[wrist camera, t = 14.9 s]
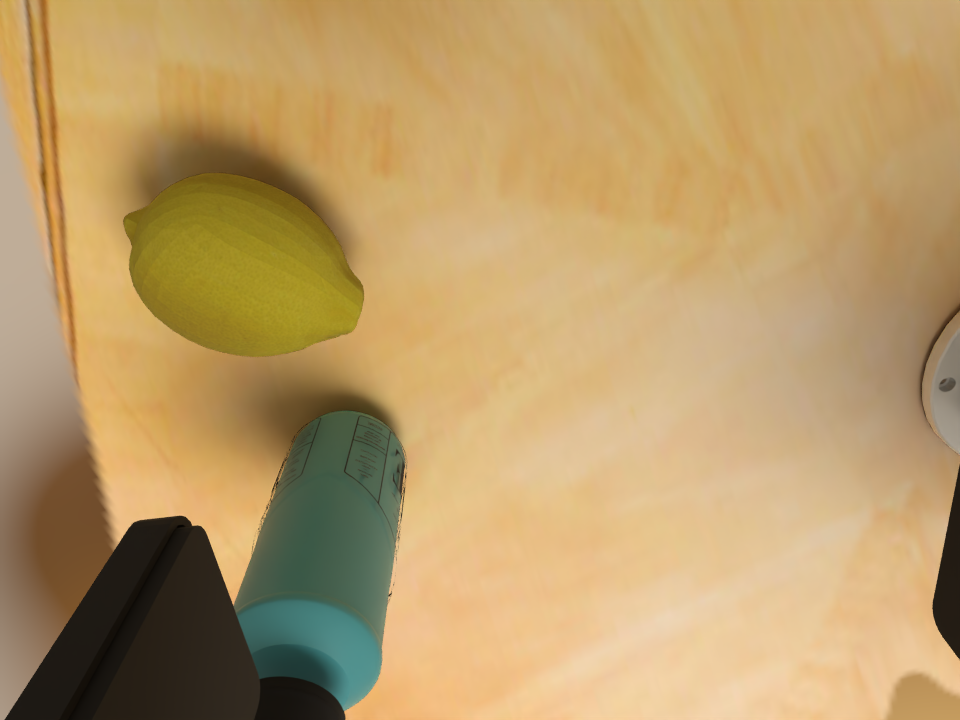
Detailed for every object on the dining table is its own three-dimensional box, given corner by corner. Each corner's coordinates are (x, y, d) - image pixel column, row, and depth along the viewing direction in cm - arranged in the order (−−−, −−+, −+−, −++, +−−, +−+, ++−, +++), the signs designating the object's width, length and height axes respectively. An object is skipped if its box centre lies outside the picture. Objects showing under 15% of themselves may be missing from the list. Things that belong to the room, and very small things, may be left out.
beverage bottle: (276, 412, 41) (124, 736, 23) (386, 377, 40) (319, 683, 22) (325, 501, 43) (224, 853, 25) (429, 470, 43) (401, 811, 25)
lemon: (134, 252, 37) (53, 313, 29) (196, 115, 34) (122, 145, 27) (327, 356, 39) (296, 435, 32) (400, 237, 36) (383, 294, 29)
